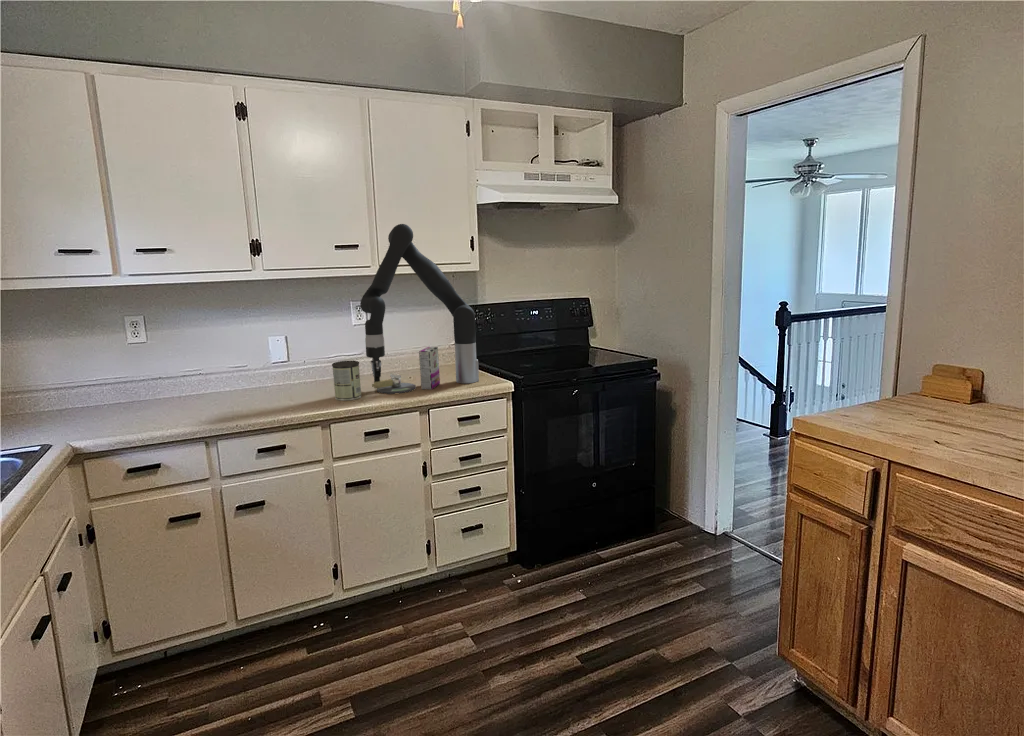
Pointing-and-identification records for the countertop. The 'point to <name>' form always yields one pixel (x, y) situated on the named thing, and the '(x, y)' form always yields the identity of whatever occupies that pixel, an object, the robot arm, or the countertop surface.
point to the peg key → (389, 381)
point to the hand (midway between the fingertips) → (377, 386)
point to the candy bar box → (429, 368)
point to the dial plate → (404, 388)
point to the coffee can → (346, 380)
